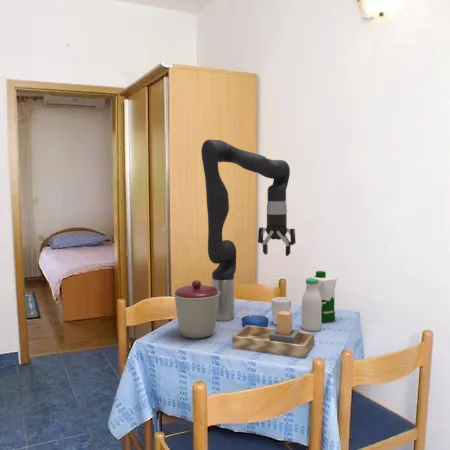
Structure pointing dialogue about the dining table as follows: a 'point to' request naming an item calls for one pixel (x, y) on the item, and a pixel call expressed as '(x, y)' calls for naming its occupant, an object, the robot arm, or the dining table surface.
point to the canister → (196, 309)
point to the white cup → (280, 306)
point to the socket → (285, 337)
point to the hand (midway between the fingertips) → (276, 254)
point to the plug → (284, 323)
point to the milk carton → (326, 295)
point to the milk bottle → (311, 306)
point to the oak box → (271, 342)
